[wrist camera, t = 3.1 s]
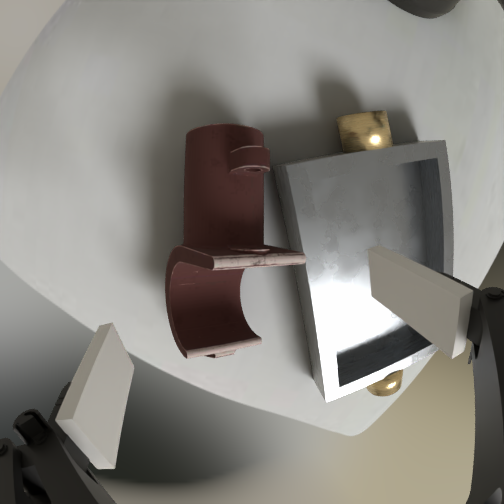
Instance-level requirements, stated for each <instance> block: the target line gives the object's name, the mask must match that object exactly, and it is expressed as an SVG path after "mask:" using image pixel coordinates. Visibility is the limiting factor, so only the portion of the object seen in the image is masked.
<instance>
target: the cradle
mask: <svg viewBox="0 0 504 504" xmlns="http://www.w3.org/2000/svg"><path fill="white" fill-rule="evenodd" d="M336 120H337V124H338V129H339V133H340V138H341V143H342V148H343V152H340V153H334V154H329V155H323V156H318V157H313V158H308V159H303V160H298V161H293V162H288V163H284V164H279V165H274V166H273V171H274V175H275V179H276V184H277V188H278V193H279V198H280V202H281V207H282V212H283V216H284V221H285V226H286V231H287V236H288V240H289V245H290V250H294V251H299V252H303V253H304V254H305V255H306V262H305V263H304V264H296V265H293V266H294V271H295V276H296V281H297V286H298V292H299V297H300V303H301V308H302V314H303V319H304V325H305V331H306V337H307V342H308V348H309V354H310V360H311V367H312V373H313V379H314V381H315V383H316V385H317V387H318V389H319V390H320V392H321V394H322V396H323V398H324V399H325V401H326V402H329V401H331V400H334V399H337V398H339V397H342V396H344V395H347V394H349V393H352V392H354V391H356V390H359V389H361V388H363V387H367V389H368V391H369V392H370V393H372V394H373V395H376V396H389V395H392V394H394V393H395V392H397V391H398V390H399V389H400V387H401V384H402V375H403V369H404V368H406V367H408V366H410V365H412V364H413V363H415V362H417V361H419V360H421V359H423V358H425V357H427V356H428V355H430V354H432V353H434V352H435V351H437V350H439V348H437V347H436V346H435V345H434V344H432V343H431V342H430V341H429V340H427V339H426V338H425V337H424V336H422V335H421V334H420V333H418V332H417V331H416V330H415V329H413V328H412V327H411V326H410V325H408V324H407V323H406V322H404V321H403V320H402V319H400V318H399V317H398V316H397V315H395V314H394V313H393V312H391V311H390V310H389V309H387V308H386V307H385V306H383V305H382V304H381V303H379V302H378V301H377V300H376V299H374V298H373V297H372V296H371V284H370V271H369V260H368V250H367V249H369V248H372V247H375V246H378V245H380V246H382V247H385V248H387V249H389V250H391V251H393V252H396V253H398V254H400V255H402V256H404V257H406V258H408V259H411V260H413V261H415V262H417V263H419V264H421V265H423V266H425V267H427V268H429V269H431V270H434V271H437V272H442V273H447V274H449V275H451V276H453V248H454V240H453V207H452V192H451V181H450V171H449V163H448V155H447V148H446V142H445V140H434V141H414V142H406V143H399V144H393V141H392V136H391V131H390V126H389V121H388V117H387V112H386V111H372V112H363V113H356V114H350V115H345V116H341V117H338V118H336Z"/></svg>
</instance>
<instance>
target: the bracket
mask: <svg viewBox="0 0 504 504" xmlns="http://www.w3.org/2000/svg"><path fill="white" fill-rule="evenodd" d="M268 171H270V149H268V148H266V147H264V135H263V133H262V132H261V131H259V130H257V129H255V128H253V127H249V126H245V125H239V124H210V125H204V126H200V127H197V128H194V129H192V130H190V131H189V132H188V133H187V134H186V150H185V176H184V243H183V244H182V245H178V246H176V247H174V248H173V250H172V251H171V253H170V256H169V259H168V263H167V268H166V278H165V296H166V306H167V313H168V319H169V323H170V327H171V331H172V334H173V337H174V340H175V342H176V344H177V346H178V348H179V350H180V352H181V353H182V354H183V356H184V357H185V358H186V359H187V358H193V357H199V356H207V357H212V358H218V357H223V356H227V355H232V354H234V353H235V350H236V349H240V348H244V347H249V346H253V345H258V344H261V343H262V339H261V337H259V336H258V335H256V334H255V333H254V332H253V331H252V330H251V328H250V327H249V325H248V324H247V322H246V319H245V317H244V314H243V311H242V307H241V301H240V283H241V278H242V274H243V272H244V269H245V268H255V267H269V266H283V265H296V264H304V263H305V262H306V255H305V254H304V253H303V252H299V251H294V250H288V249H283V248H278V247H273V246H268V245H264V173H265V172H268Z"/></svg>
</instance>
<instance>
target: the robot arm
mask: <svg viewBox="0 0 504 504" xmlns="http://www.w3.org/2000/svg"><path fill="white" fill-rule="evenodd" d="M389 1H390V2H392V3H393V4H395V5H396V6H398V7H399V8H401V9H403V10H405V11H407V12H409V13H411V14H413V15H416V16H419V17H423V18H437V17H439V16H442V15H444V14H446V13H448V12H450V11H451V10H452V9H453V8H454V7H455V5H456V4H457V3H458V2H459V1H460V0H389ZM498 2H499V3H500V5H501V7H502V8H503V10H504V0H498ZM367 250H368V260H369V271H370V284H371V296H372V297H373V298H374V299H376V300H377V301H378V302H379V303H381V304H382V305H383V306H385V307H386V308H387V309H389V310H390V311H391V312H393V313H394V314H395V315H397V316H398V317H399V318H400V319H402V320H403V321H404V322H406V323H407V324H408V325H410V326H411V327H412V328H413V329H415V330H416V331H417V332H418V333H420V334H421V335H422V336H424V337H425V338H426V339H427V340H429V341H430V342H431V343H432V344H434V345H435V346H436V347H437V348H439V349H440V350H441V351H442V352H444V353H445V354H446V355H447V356H449V357H450V358H451V359H453V358H454V357H456V356H457V355H459V354H460V353H462V352H463V351H464V349H465V345H466V340H467V338H468V339H469V340H470V341H472V347H471V352H470V356H469V361H468V364H470V363H471V360H472V362H473V373H474V388H475V451H474V465H473V475H472V484H471V491H470V495H469V498H468V500H467V502H466V504H504V290H503V289H500V288H497V287H489V288H485V289H483V290H482V291H481V290H479V289H477V288H475V287H473V286H471V285H469V284H467V283H465V282H463V281H462V282H461V280H459V279H457V278H455V277H453V276H451V275H449V274H447V273H442V272H437V271H434V270H431V269H429V268H427V267H425V266H423V265H421V264H419V263H417V262H415V261H413V260H411V259H408V258H406V257H404V256H402V255H400V254H398V253H396V252H393V251H391V250H389V249H387V248H385V247H382V246H380V245H378V246H375V247H372V248H369V249H367ZM133 371H134V365H133V363H132V361H131V359H130V357H129V356H128V354H127V352H126V350H125V348H124V346H123V343H122V341H121V339H120V337H119V335H118V333H117V331H116V329H115V327H114V324H113V323H109V324H105V325H101V326H99V328H98V330H97V332H96V333H95V335H94V337H93V339H92V341H91V343H90V345H89V347H88V349H87V352H86V353H85V355H84V357H83V359H82V361H81V364H80V365H79V368H78V370H77V372H76V374H75V376H74V378H73V380H72V382H69V383H68V384H67V385H66V386H65V387H64V388H63V390H62V391H61V393H60V395H59V397H58V398H59V399H58V400H57V402H56V404H55V405H56V406H55V407H54V408H53V411H52V413H51V415H50V418H49V420H48V422H47V421H46V420H45V419H44V418H43V416H42V415H41V414H40V412H39V411H38V410H35V409H30V410H27V411H25V412H23V413H22V414H21V415H19V416H18V417H17V418H16V420H15V422H14V424H13V430H14V431H15V432H16V434H17V435H18V436H19V437H20V438H21V440H22V441H23V442H24V443H25V444H24V445H21V446H17V447H16V446H15V444H14V443H13V442H12V441H11V440H10V439H8V438H3V439H0V504H116V503H115V501H114V500H113V499H112V498H111V496H110V495H109V494H108V493H107V491H106V490H105V489H104V488H103V486H102V485H101V484H100V482H99V481H98V480H97V478H96V477H95V476H94V474H93V473H92V472H91V471H90V470H89V469H88V463H89V460H90V461H91V462H92V463H93V465H95V466H96V468H98V469H113V468H115V464H116V457H117V451H118V445H119V440H120V434H121V428H122V423H123V418H124V413H125V408H126V403H127V398H128V393H129V389H130V384H131V380H132V376H133Z"/></svg>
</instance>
